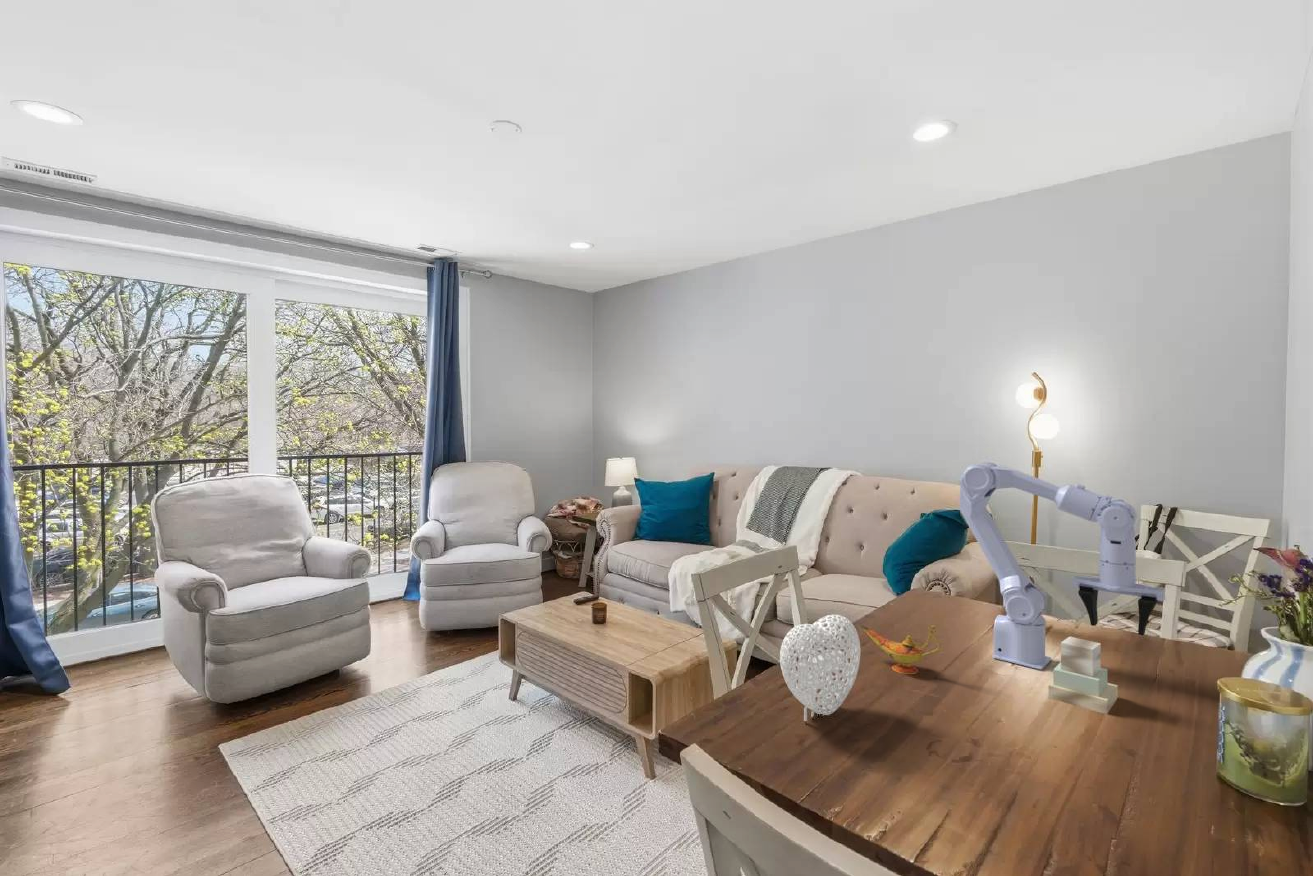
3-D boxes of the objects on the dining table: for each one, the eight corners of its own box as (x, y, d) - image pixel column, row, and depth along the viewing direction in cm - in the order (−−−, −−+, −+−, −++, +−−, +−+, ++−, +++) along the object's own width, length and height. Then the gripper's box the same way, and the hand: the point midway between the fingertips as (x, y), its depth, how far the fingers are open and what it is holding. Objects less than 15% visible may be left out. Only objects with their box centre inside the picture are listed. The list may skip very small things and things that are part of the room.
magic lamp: (866, 651, 138) (866, 603, 137) (947, 675, 124) (947, 622, 124) (850, 659, 133) (850, 610, 133) (932, 685, 119) (932, 630, 119)
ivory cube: (1060, 668, 113) (1060, 642, 113) (1069, 662, 117) (1069, 636, 116) (1092, 677, 110) (1092, 649, 109) (1100, 669, 113) (1100, 643, 113)
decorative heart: (827, 690, 118) (826, 603, 117) (876, 710, 109) (875, 617, 109) (765, 718, 107) (764, 623, 106) (814, 743, 98) (813, 640, 98)
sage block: (1053, 685, 113) (1053, 669, 113) (1063, 674, 118) (1063, 659, 118) (1098, 697, 108) (1098, 680, 108) (1107, 685, 113) (1107, 669, 113)
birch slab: (1048, 701, 113) (1048, 685, 113) (1061, 686, 119) (1061, 671, 119) (1107, 717, 107) (1107, 700, 107) (1117, 701, 113) (1117, 685, 113)
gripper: (1068, 559, 122) (1069, 625, 123) (1160, 571, 112) (1160, 643, 112) (1078, 553, 127) (1078, 617, 127) (1167, 564, 116) (1167, 634, 117)
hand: (1117, 629), depth 120 cm, fingers open, 7 cm apart
